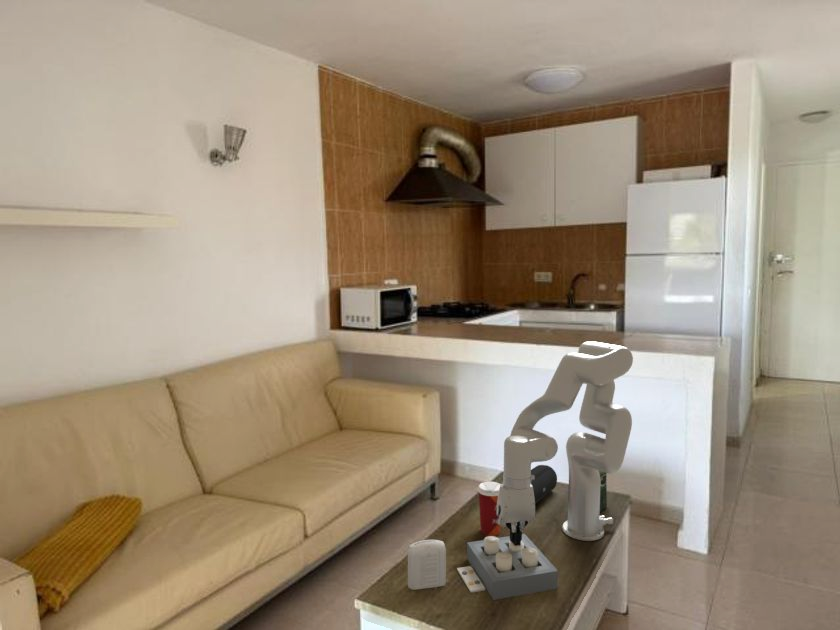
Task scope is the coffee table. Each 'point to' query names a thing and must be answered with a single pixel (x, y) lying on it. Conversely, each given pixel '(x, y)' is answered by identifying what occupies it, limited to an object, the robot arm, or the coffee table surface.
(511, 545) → the button
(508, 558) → the button
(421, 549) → the photo printer
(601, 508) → the coffee jar
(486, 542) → the button
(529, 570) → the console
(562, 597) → the coffee table surface
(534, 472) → the portable speaker
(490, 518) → the coffee cup
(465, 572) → the card
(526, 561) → the button
